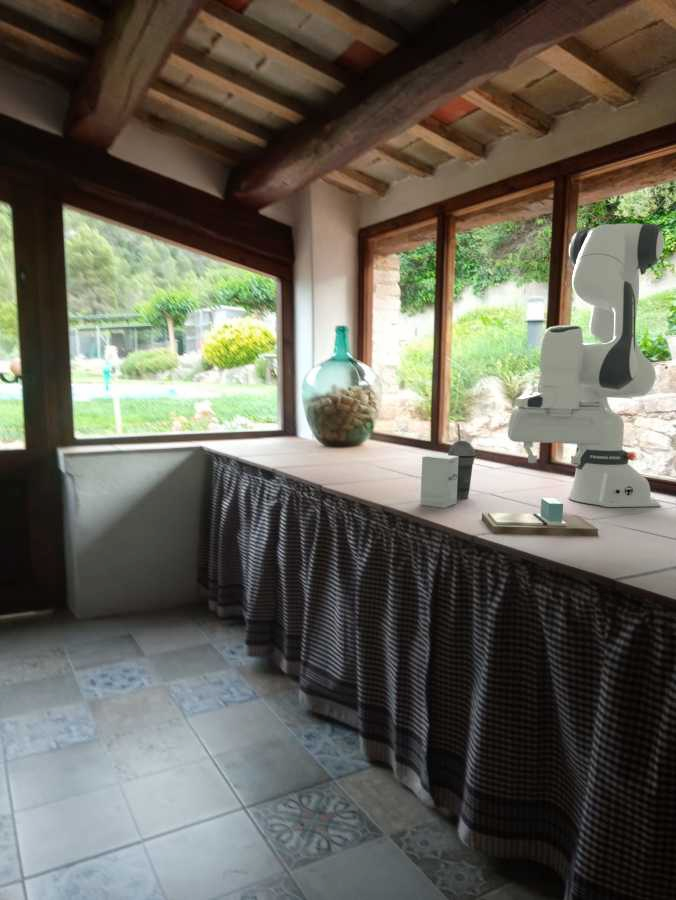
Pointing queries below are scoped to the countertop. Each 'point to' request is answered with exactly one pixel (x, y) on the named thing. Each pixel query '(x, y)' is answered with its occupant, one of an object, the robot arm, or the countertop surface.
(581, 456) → the robot arm
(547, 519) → the teal and white block
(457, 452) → the beverage cup
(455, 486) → the supplement box
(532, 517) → the board
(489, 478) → the countertop surface
